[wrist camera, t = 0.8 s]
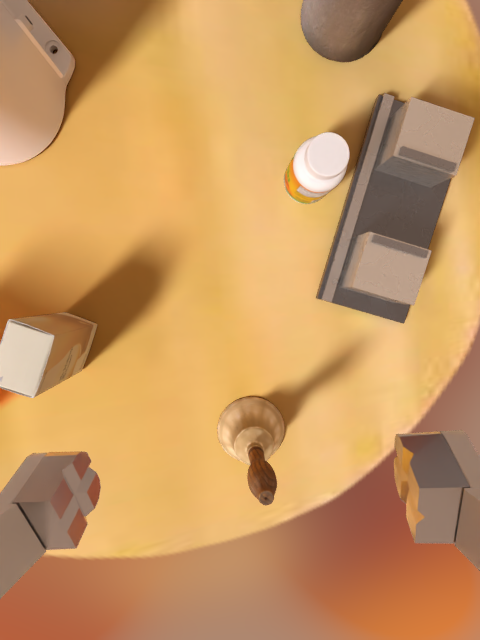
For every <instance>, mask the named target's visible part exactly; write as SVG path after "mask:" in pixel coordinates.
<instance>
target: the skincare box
mask: <svg viewBox="0 0 480 640" xmlns="http://www.w3.org/2000/svg"><path fill="white" fill-rule="evenodd" d="M96 328H97V324H96V323H94V322H91V321H89V320H86V319H83V318H80V317H78V316H75V315H72V314H69V313H66V312H63V313H55V314H47V315H39V316H31V317H23V318H15V319H9V320H8V322H7V325H6V328H5V331H4V334H3V337H2V340H1V343H0V388H2V389H5V390H8V391H11V392H14V393H17V394H20V395H23V396H27V397H30V398H34V397H36V396H37V395H39V394H41V393H43V392H45V391H46V390H48V389H50V388H52V387H54V386H55V385H57V384H59V383H61V382H63V381H64V380H66V379H68V378H70V377H72V376H73V375H75V374H77V373H79V372H80V371H82V369H83V366H84V364H85V361H86V359H87V356H88V353H89V350H90V348H91V344H92V341H93V338H94V335H95V332H96Z"/></svg>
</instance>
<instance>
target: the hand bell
mask: <svg viewBox="0 0 480 640" xmlns="http://www.w3.org/2000/svg"><path fill="white" fill-rule="evenodd" d="M284 432H285V426H284V421H283V418H282V415H281V413H280V412H279V410H278V409H277V408H276V407H275V406H274V405H273V404H272V403H270V402H269V401H267V400H265V399H262V398H259V397H244V398H241V399H238V400H236V401H234V402H232V403H231V404H230V405H229V406H227V408H226V409H225V410H224V411H223V413H222V414H221V416H220V419H219V422H218V427H217V434H218V439H219V442H220V444H221V446H222V447H223V449H224V450H225V451H226V452H227V453H228V454H229V455H230V456H231V457H233V458H235V459H237V460H239V461H242V462H243V463H245V464H247V465H250V467H249V469H248V484H249V488H250V490H251V492H252V493H253V495H254V496H255V497H256V498H257V499H258V500H259V502H260V503H262V504H263V505H269V504H271V503H272V502H273V500H274V494H275V491H276V488H277V480H276V475H275V473H274V470H273V468H272V467H271V465H270V464H269V463H268V462H267V460H268V459H269V458H270V457H271V455H273V454H274V453H275V452H276V451H277V449H278V448H279V447H280V445H281V443H282V441H283V438H284Z"/></svg>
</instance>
